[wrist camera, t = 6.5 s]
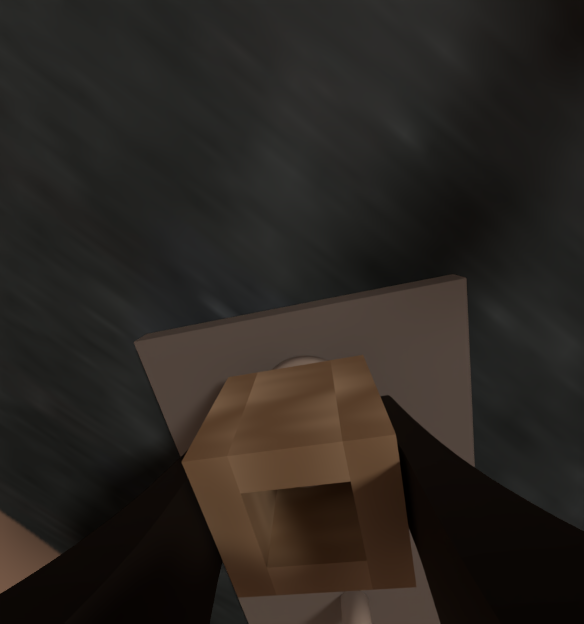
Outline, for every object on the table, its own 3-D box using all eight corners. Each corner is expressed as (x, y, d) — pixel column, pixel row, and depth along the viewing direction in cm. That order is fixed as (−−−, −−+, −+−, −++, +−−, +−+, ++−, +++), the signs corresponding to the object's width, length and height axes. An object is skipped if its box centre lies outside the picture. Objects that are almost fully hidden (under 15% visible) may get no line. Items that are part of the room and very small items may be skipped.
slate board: (453, 274, 11) (550, 304, 7) (472, 613, 17) (531, 753, 13) (146, 333, 13) (56, 390, 8) (259, 623, 19) (243, 749, 14)
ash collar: (363, 354, 10) (396, 434, 6) (380, 466, 11) (416, 587, 8) (228, 377, 11) (181, 462, 7) (261, 479, 12) (238, 597, 8)
